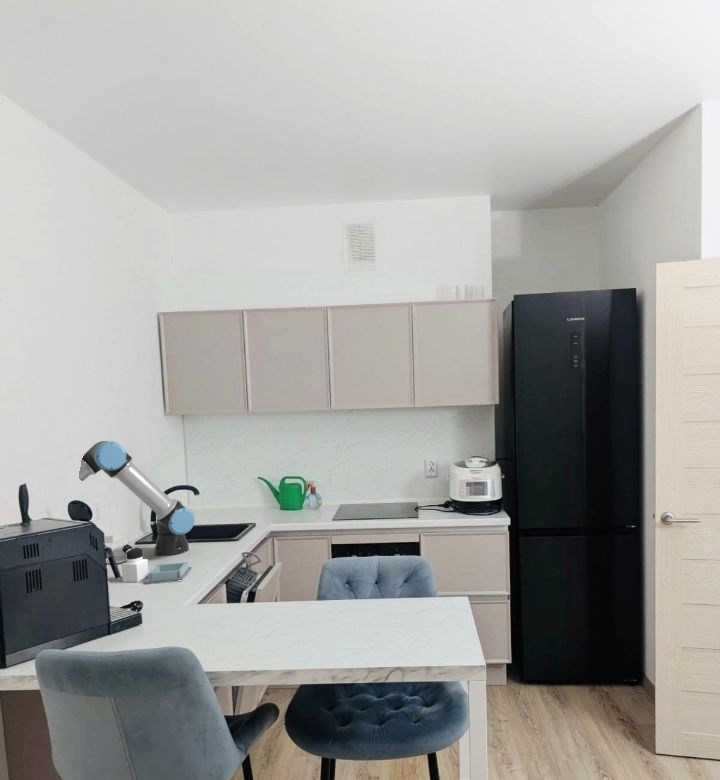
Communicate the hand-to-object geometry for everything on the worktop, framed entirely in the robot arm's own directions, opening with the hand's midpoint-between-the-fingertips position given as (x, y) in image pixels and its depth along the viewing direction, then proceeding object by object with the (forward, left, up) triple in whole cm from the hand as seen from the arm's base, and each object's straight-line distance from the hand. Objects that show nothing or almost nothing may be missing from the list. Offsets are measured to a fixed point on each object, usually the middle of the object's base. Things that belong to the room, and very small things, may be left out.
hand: (107, 543), depth 234 cm
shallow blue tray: (0, +23, -15) cm, 28 cm away
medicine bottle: (0, +10, -15) cm, 18 cm away
